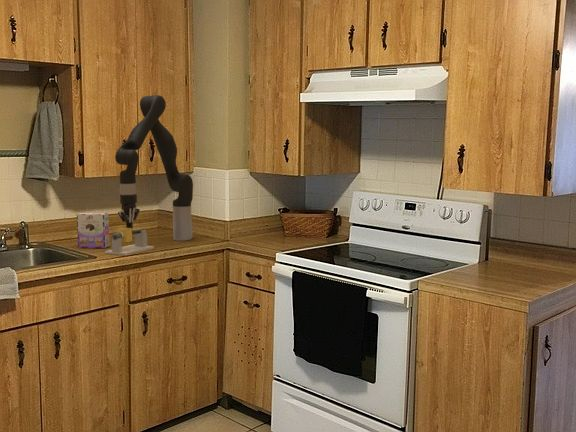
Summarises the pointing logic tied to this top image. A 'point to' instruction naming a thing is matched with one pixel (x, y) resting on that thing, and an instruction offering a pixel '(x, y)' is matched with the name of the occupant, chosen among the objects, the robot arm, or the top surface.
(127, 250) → the stand
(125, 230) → the marker sleeve
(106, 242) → the candy box
